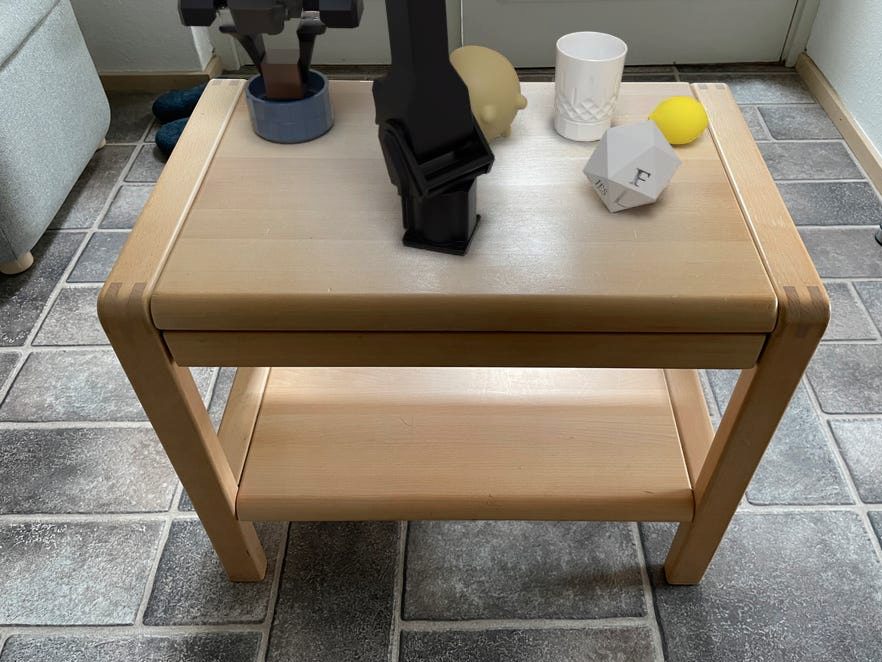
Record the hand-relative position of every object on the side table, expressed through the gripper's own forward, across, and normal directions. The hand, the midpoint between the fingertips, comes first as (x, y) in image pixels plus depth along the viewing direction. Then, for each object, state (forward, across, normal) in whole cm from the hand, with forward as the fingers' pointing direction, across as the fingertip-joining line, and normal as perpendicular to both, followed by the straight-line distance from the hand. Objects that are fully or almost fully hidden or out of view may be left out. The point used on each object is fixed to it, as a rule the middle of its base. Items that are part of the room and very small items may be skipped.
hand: (286, 82), depth 86 cm
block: (+1, 0, 0) cm, 1 cm away
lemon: (+6, +45, -3) cm, 46 cm away
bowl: (+5, 0, 0) cm, 5 cm away
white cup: (+6, +35, 0) cm, 35 cm away
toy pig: (+6, +22, -3) cm, 22 cm away
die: (+6, +38, -15) cm, 41 cm away
